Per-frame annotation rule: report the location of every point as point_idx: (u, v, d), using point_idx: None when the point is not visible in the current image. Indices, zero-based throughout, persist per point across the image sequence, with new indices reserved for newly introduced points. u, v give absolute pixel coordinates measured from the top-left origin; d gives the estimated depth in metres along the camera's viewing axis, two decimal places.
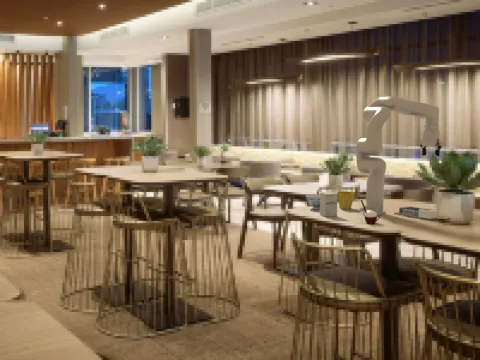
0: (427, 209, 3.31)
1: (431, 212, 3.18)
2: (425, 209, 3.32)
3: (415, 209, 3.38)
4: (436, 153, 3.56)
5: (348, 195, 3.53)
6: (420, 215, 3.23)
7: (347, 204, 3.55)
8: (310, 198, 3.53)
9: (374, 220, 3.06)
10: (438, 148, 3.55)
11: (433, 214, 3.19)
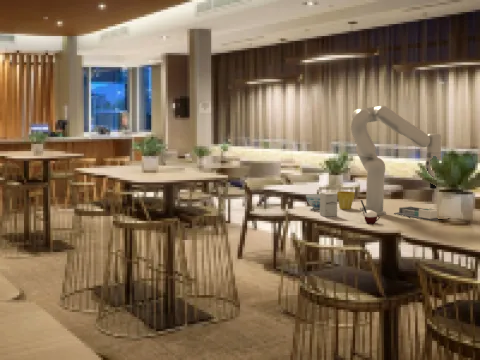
0: (427, 209, 3.31)
1: (431, 212, 3.18)
2: (425, 209, 3.32)
3: (415, 209, 3.38)
4: None
5: (348, 195, 3.53)
6: (420, 215, 3.23)
7: (347, 204, 3.55)
8: (310, 198, 3.53)
9: (374, 220, 3.06)
10: None
11: (433, 214, 3.19)
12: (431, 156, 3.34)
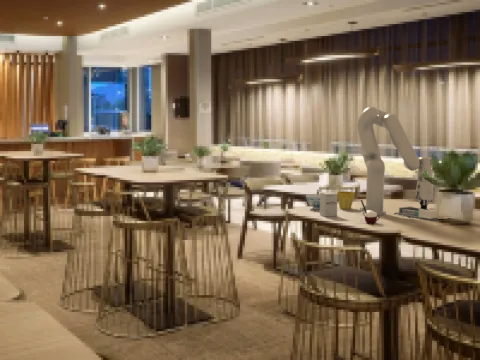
0: (426, 209, 3.31)
1: (431, 212, 3.18)
2: (424, 209, 3.32)
3: (414, 209, 3.38)
4: (426, 208, 3.36)
5: (348, 195, 3.53)
6: (420, 215, 3.23)
7: (347, 204, 3.55)
8: (310, 198, 3.53)
9: (374, 220, 3.06)
10: None
11: (433, 214, 3.19)
12: (422, 180, 3.32)
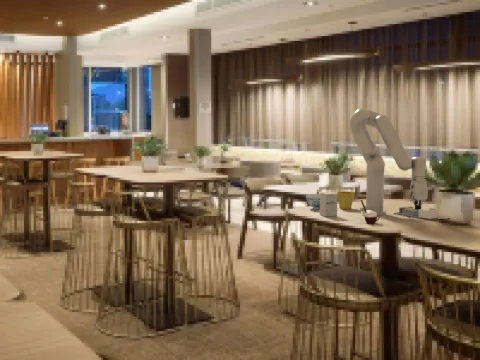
0: None
1: (431, 212, 3.18)
2: (418, 210, 3.29)
3: None
4: None
5: (348, 195, 3.53)
6: (420, 215, 3.23)
7: (347, 204, 3.55)
8: (310, 198, 3.53)
9: (374, 220, 3.06)
10: None
11: (433, 214, 3.19)
12: (416, 180, 3.29)
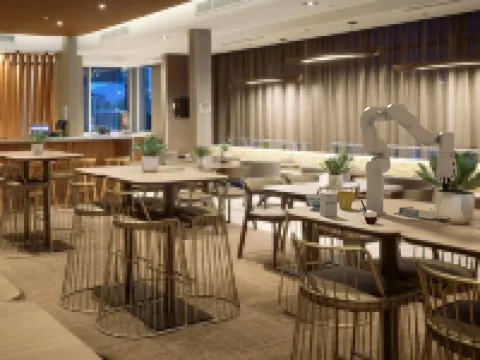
0: None
1: (431, 212, 3.18)
2: (418, 210, 3.29)
3: None
4: None
5: (348, 195, 3.53)
6: (420, 215, 3.23)
7: (347, 204, 3.55)
8: (310, 198, 3.53)
9: (374, 220, 3.06)
10: None
11: (433, 214, 3.19)
12: (453, 156, 3.11)
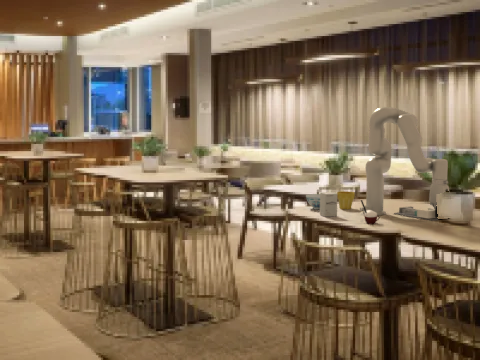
0: None
1: (429, 212, 3.19)
2: None
3: None
4: None
5: (348, 195, 3.53)
6: (419, 215, 3.23)
7: (347, 204, 3.55)
8: (310, 198, 3.53)
9: (374, 220, 3.06)
10: (436, 207, 3.20)
11: (431, 214, 3.19)
12: None
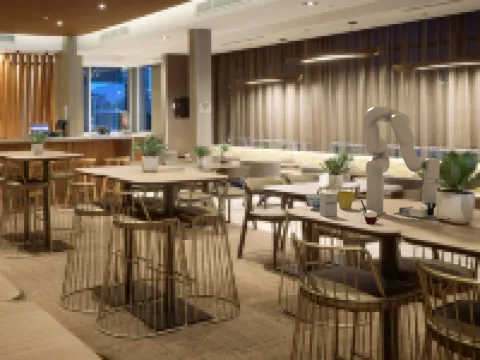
0: None
1: (422, 211, 3.23)
2: None
3: None
4: None
5: (348, 195, 3.53)
6: (411, 213, 3.28)
7: (347, 204, 3.55)
8: (310, 198, 3.53)
9: (374, 220, 3.06)
10: None
11: (424, 212, 3.24)
12: (438, 182, 3.19)
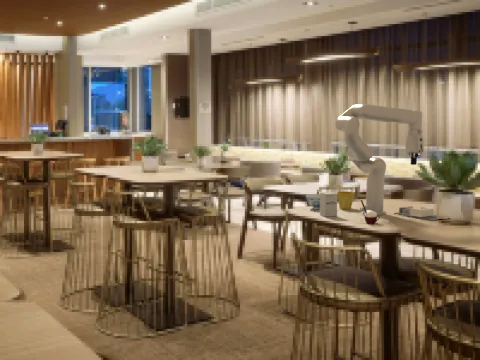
0: None
1: (422, 211, 3.23)
2: None
3: None
4: None
5: (348, 195, 3.53)
6: (411, 213, 3.28)
7: (347, 204, 3.55)
8: (310, 198, 3.53)
9: (374, 220, 3.06)
10: None
11: (424, 212, 3.24)
12: None
